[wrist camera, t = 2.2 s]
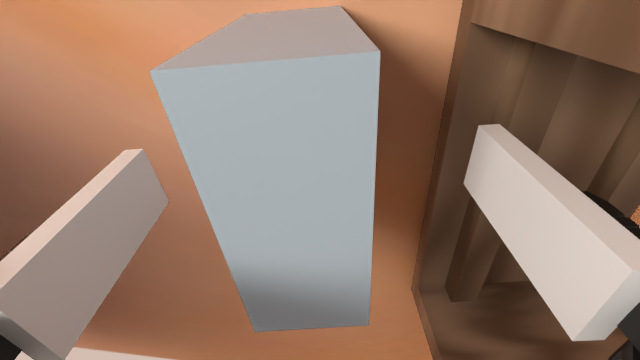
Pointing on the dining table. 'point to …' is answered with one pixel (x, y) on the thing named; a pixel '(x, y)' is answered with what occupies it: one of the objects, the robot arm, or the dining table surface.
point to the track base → (546, 142)
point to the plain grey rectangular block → (284, 159)
